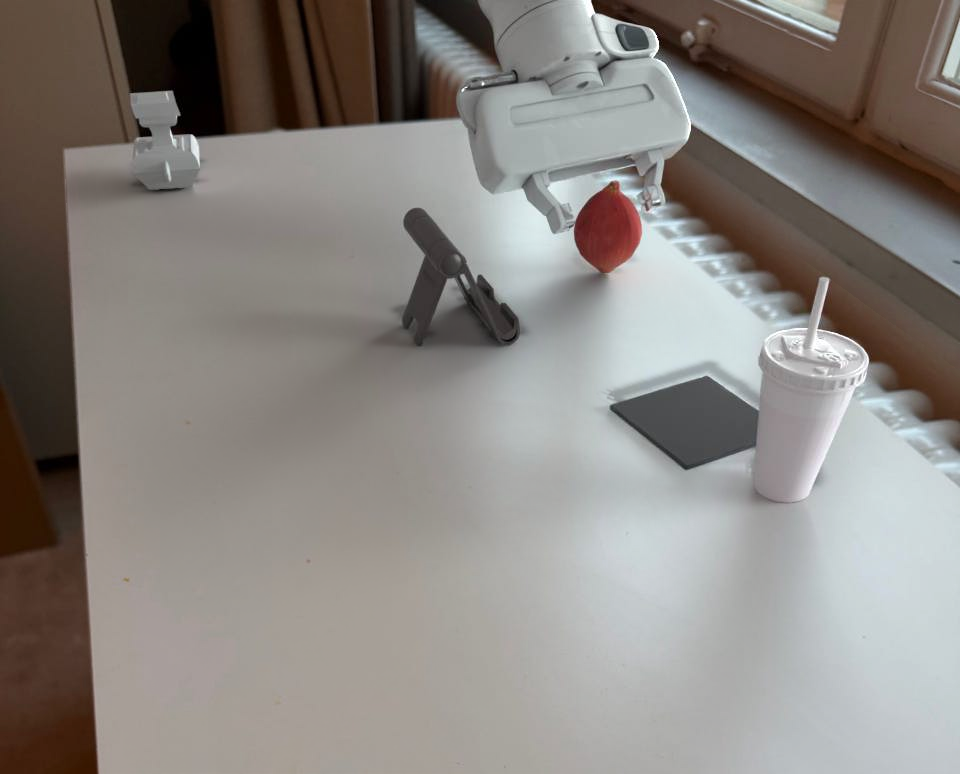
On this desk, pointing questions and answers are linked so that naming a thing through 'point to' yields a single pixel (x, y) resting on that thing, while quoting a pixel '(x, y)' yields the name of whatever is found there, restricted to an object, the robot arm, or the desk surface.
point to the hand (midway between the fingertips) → (610, 219)
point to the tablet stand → (434, 273)
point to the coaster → (692, 421)
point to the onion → (608, 229)
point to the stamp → (162, 144)
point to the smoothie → (802, 403)
